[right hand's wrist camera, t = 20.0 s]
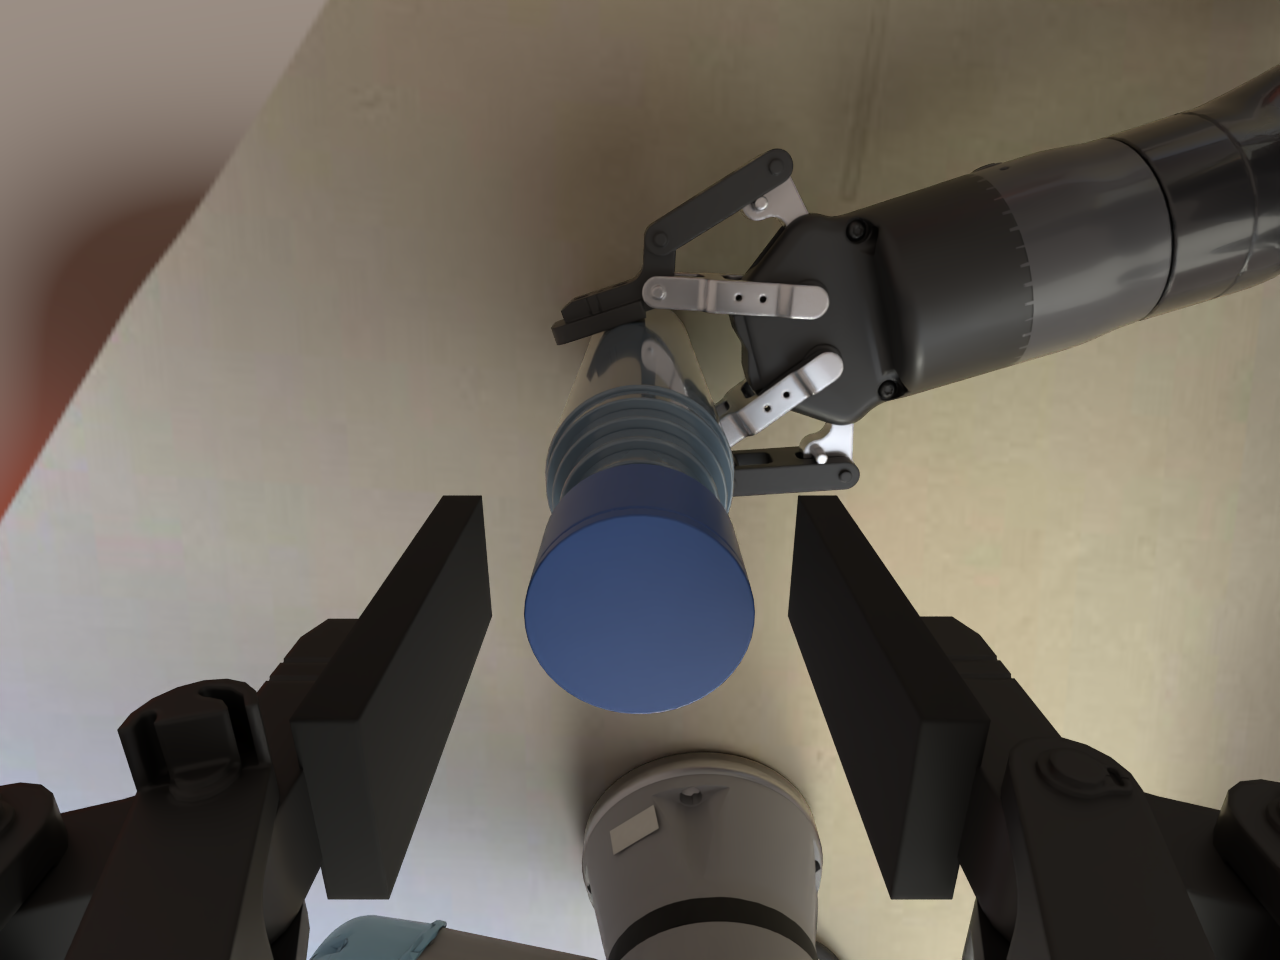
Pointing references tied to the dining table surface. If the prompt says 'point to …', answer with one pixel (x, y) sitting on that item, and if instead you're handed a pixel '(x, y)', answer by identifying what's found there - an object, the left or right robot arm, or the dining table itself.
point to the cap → (639, 592)
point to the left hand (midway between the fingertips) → (580, 398)
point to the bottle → (640, 411)
